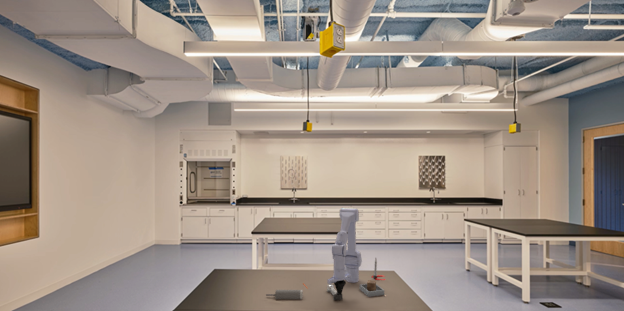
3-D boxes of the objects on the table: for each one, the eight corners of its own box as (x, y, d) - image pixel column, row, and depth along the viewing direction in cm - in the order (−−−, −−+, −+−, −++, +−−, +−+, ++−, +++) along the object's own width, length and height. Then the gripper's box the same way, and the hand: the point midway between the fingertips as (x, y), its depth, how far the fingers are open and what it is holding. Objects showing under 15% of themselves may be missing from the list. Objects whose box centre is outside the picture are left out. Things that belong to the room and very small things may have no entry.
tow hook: (384, 276, 208) (370, 277, 205) (384, 255, 208) (371, 256, 205) (391, 281, 200) (377, 282, 197) (392, 259, 200) (378, 259, 197)
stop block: (367, 292, 179) (367, 282, 179) (368, 289, 182) (368, 280, 182) (374, 293, 177) (374, 283, 177) (376, 290, 181) (375, 280, 181)
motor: (309, 301, 170) (309, 291, 171) (265, 301, 170) (265, 290, 171) (310, 291, 193) (310, 282, 194) (271, 291, 193) (271, 282, 194)
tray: (359, 289, 184) (359, 284, 184) (374, 287, 186) (374, 282, 187) (368, 297, 173) (368, 292, 174) (384, 295, 176) (384, 290, 176)
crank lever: (325, 290, 182) (325, 284, 182) (333, 289, 183) (333, 283, 184) (333, 301, 168) (333, 294, 168) (342, 300, 169) (342, 294, 169)
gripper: (344, 263, 180) (344, 289, 180) (323, 269, 171) (323, 296, 171) (353, 266, 175) (353, 293, 175) (332, 272, 166) (332, 300, 166)
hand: (339, 295), depth 173 cm, fingers closed
